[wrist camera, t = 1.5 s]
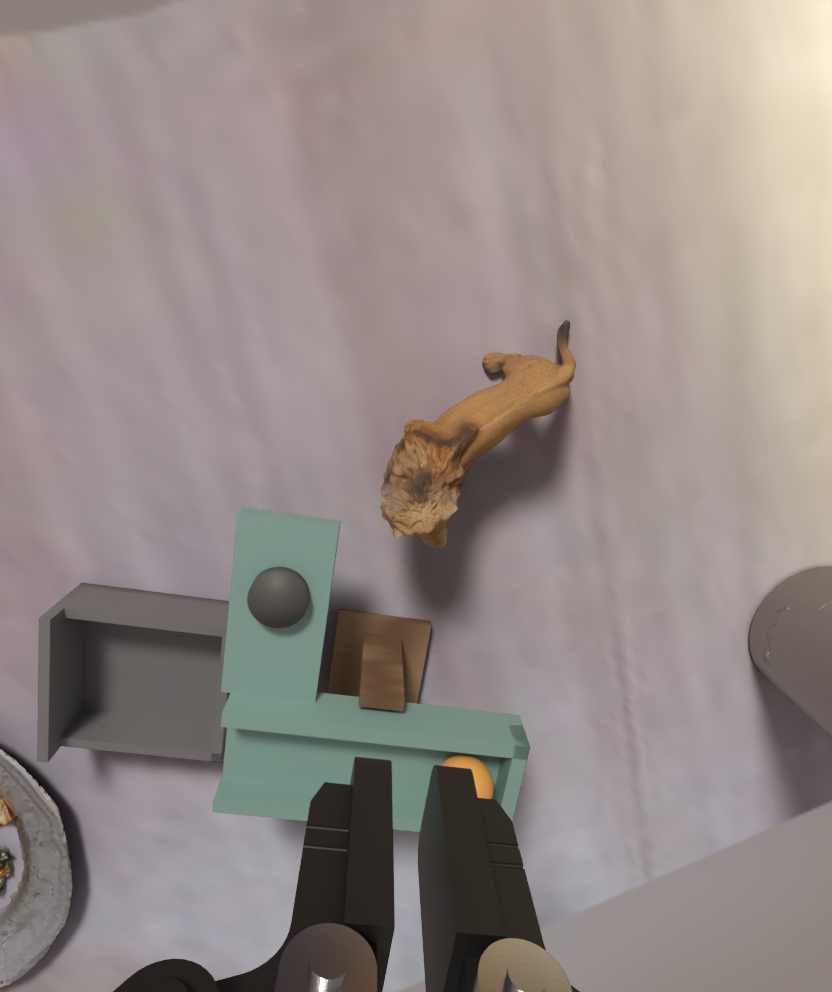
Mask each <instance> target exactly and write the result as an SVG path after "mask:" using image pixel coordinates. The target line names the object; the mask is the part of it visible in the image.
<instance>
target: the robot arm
mask: <svg viewBox="0 0 832 992" xmlns="http://www.w3.org/2000/svg"><path fill="white" fill-rule="evenodd" d="M749 642H750V651H751V655H752V659H753V661H754V663H755V664H756V666H757V668H758V670H759V671H760V672H761V673H762V674H763V675H764V676H765V677H766V678H767V679H768V680H769V681H770V682H771V683H772V684H774V685H775V686H776V687H777V688H778V689H779V690H780V691H781V692H782V693H783V694H785V695H786V696H787V697H788V698H789V699H790V700H791V701H792V702H793V703H794V704H795V705H797V706H798V708H799V709H801V710H802V711H803V712H804V713H805V714H806V715H807V716H808V717H809V718H810V719H811V720H813V721H814V722H815V723H816V724H817V725H818V726H819V727H820V728H821V729H822V730H824V731H825V732H826V733H827V734H828V735H829V736H830V737H831V738H832V566H831V567H817V568H813V569H809V570H805V571H802V572H800V573H798V574H795V575H793V576H791V577H789V578H788V579H786V580H785V581H783V582H782V583H780V584H779V585H778V586H776V587H775V588H774V589H773V590H772V591H771V592H770V593H769V594H768V595H767V596H766V598H765V599H764V600H763V602H762V603H761V605H760V606H759V608H758V609H757V612H756V614H755V616H754V619H753V621H752V625H751V629H750V634H749ZM418 872H419V888H420V904H421V920H422V936H423V952H424V968H425V984H426V992H579V991H578V990H576V989H575V988H574V987H573V986H572V985H570V982H569V980H568V977H567V975H566V974H565V972H564V970H563V969H562V967H561V966H560V964H559V963H558V962H557V961H556V960H555V959H554V957H552V955H550V954H549V953H548V952H547V951H546V949H545V947H544V943H543V940H542V935H541V932H540V928H539V924H538V920H537V916H536V912H535V908H534V905H533V901H532V897H531V893H530V889H529V885H528V881H527V878H526V874H525V870H524V869H523V862H522V858H521V854H520V851H519V849H518V843H517V839H516V835H515V831H514V827H513V823H512V821H511V819H510V818H509V816H508V815H507V814H506V812H505V811H504V810H503V808H502V807H501V806H500V804H499V803H498V801H497V800H495V799H485V798H478V797H477V792H476V787H475V782H474V777H473V772H472V770H471V769H468V768H459V767H449V766H440V765H434V767H433V769H432V773H431V777H430V782H429V788H428V793H427V798H426V803H425V808H424V813H423V818H422V823H421V829H420V836H419V846H418ZM393 933H394V866H393V806H392V762H391V760H383V759H374V758H364V757H355V758H354V763H353V769H352V775H351V782H350V785H348V784H338V783H328V782H324V784H323V785H322V786H321V788H320V789H319V790H318V792H317V793H316V794H315V796H314V797H313V798H312V800H311V801H310V807H309V814H308V820H307V827H306V833H305V839H304V846H303V852H302V858H301V865H300V871H299V877H298V884H297V890H296V896H295V903H294V909H293V915H292V922H291V926H290V930H289V933H288V936H287V938H286V940H285V942H284V943H283V945H282V947H281V948H280V949H279V950H278V952H277V953H276V954H275V955H274V956H273V957H272V958H271V959H270V960H268V961H267V962H266V963H264V964H263V965H261V966H260V967H258V968H256V969H254V970H252V971H250V972H247V973H244V974H241V975H237V976H233V977H229V978H226V979H222V980H218V981H215V980H214V979H213V977H212V975H211V974H210V973H209V972H208V971H207V970H206V969H205V968H203V967H202V966H201V965H199V964H197V963H194V962H192V961H188V960H184V959H169V960H163V961H159V962H155V963H153V964H150V965H148V966H146V967H144V968H142V969H141V970H139V971H137V972H136V973H135V974H133V975H132V976H131V977H129V978H128V979H127V980H126V981H125V982H124V983H122V984H121V985H120V986H119V987H118V988H117V989H116V990H114V991H113V992H382V990H383V985H384V979H385V974H386V969H387V964H388V959H389V953H390V948H391V943H392V938H393Z"/></svg>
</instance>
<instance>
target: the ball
mask: <svg viewBox="0 0 832 992" xmlns="http://www.w3.org/2000/svg"><path fill="white" fill-rule="evenodd" d="M441 766H449V767H459V768H468V769H471V770H472V772H473V777H474V782H475V787H476V792H477V797H478V798H485V799H492V797H493V791H494V785H493V779H492V776H491V774H490V772H489V770H488V768H487V767H486V765H485V764H484V763H483V762H482V761H480V760H479V759H477V758H476V757H474V756H471V755H466V754H459V755H455V756H452V757H450V758H448V759H447V760H446V761H444V762H443V763H442V764H441Z"/></svg>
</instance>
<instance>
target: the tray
mask: <svg viewBox="0 0 832 992" xmlns="http://www.w3.org/2000/svg"><path fill="white" fill-rule="evenodd" d="M228 612H229V601H222V600H214V599H206V598H198V597H190V596H182V595H175V594H167V593H159V592H151V591H143V590H135V589H127V588H119V587H111V586H103V585H95V584H87V583H81V584H80V585H78V586H77V587H76V588H75V589H74V590H73V591H71V592H70V593H69V594H68V595H67V596H65V597H64V598H63V599H62V600H61V601H59V602H58V603H57V604H56V605H55V606H53V607H52V608H51V609H50V610H49V611H47V612H46V613H45V614H44V615H43V616H41V617H40V618H39V658H38V743H37V761H39V762H49V760H50V759H51V758H52V757H53V755H54V754H55V753H56V751H57V750H58V749H59V748H60V746H67V747H76V748H86V749H96V750H105V751H115V752H125V753H134V754H144V755H154V756H163V757H173V758H183V759H192V760H202V761H212V762H221V760H222V757H223V755H224V752H225V744H226V733H227V727H221V718H222V712H223V709H224V707H225V705H226V702H227V700H228V698H229V695H230V693H226V692H221V686H222V675H223V665H224V654H225V643H226V633H227V622H228Z"/></svg>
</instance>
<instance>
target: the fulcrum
mask: <svg viewBox="0 0 832 992" xmlns="http://www.w3.org/2000/svg"><path fill="white" fill-rule="evenodd" d="M430 631H431V622H430V621H426V620H418V619H410V618H402V617H394V616H387V615H379V614H371V613H363V612H355V611H347V610H339V613H338V620H337V627H336V634H335V641H334V648H333V655H332V662H331V669H330V676H329V683H328V690H327V693H329V694H338V695H346V696H355V697H359V704H358V706H360V707H369V708H378V709H387V710H395V711H403V708H404V702H408V703H416V704H417V702H418V696H419V691H420V685H421V680H422V674H423V669H424V663H425V658H426V652H427V647H428V642H429V636H430Z"/></svg>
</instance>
